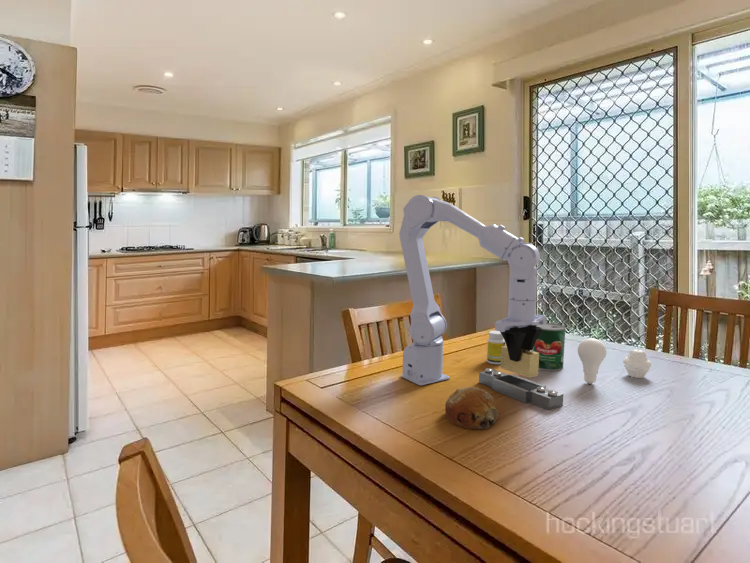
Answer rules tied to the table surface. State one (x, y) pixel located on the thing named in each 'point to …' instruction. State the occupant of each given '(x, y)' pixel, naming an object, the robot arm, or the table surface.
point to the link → (521, 362)
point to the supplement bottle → (494, 347)
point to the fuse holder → (521, 389)
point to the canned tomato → (550, 346)
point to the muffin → (637, 363)
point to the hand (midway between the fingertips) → (519, 359)
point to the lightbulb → (591, 357)
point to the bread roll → (471, 408)
